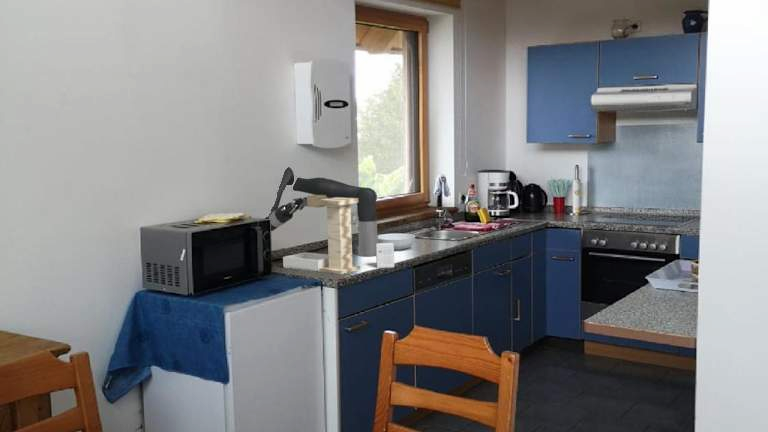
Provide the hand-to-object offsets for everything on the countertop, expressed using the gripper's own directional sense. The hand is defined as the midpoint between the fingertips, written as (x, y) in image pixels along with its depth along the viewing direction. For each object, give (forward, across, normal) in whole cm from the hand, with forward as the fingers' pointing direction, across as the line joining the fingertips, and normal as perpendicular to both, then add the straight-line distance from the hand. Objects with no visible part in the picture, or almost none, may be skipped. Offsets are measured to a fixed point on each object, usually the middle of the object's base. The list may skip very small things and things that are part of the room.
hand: (304, 199), depth 358 cm
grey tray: (-13, +1, +28) cm, 31 cm away
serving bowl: (-10, +62, +30) cm, 70 cm away
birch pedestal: (+2, 0, +37) cm, 37 cm away
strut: (+1, 0, +4) cm, 4 cm away
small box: (+12, +18, +43) cm, 48 cm away
